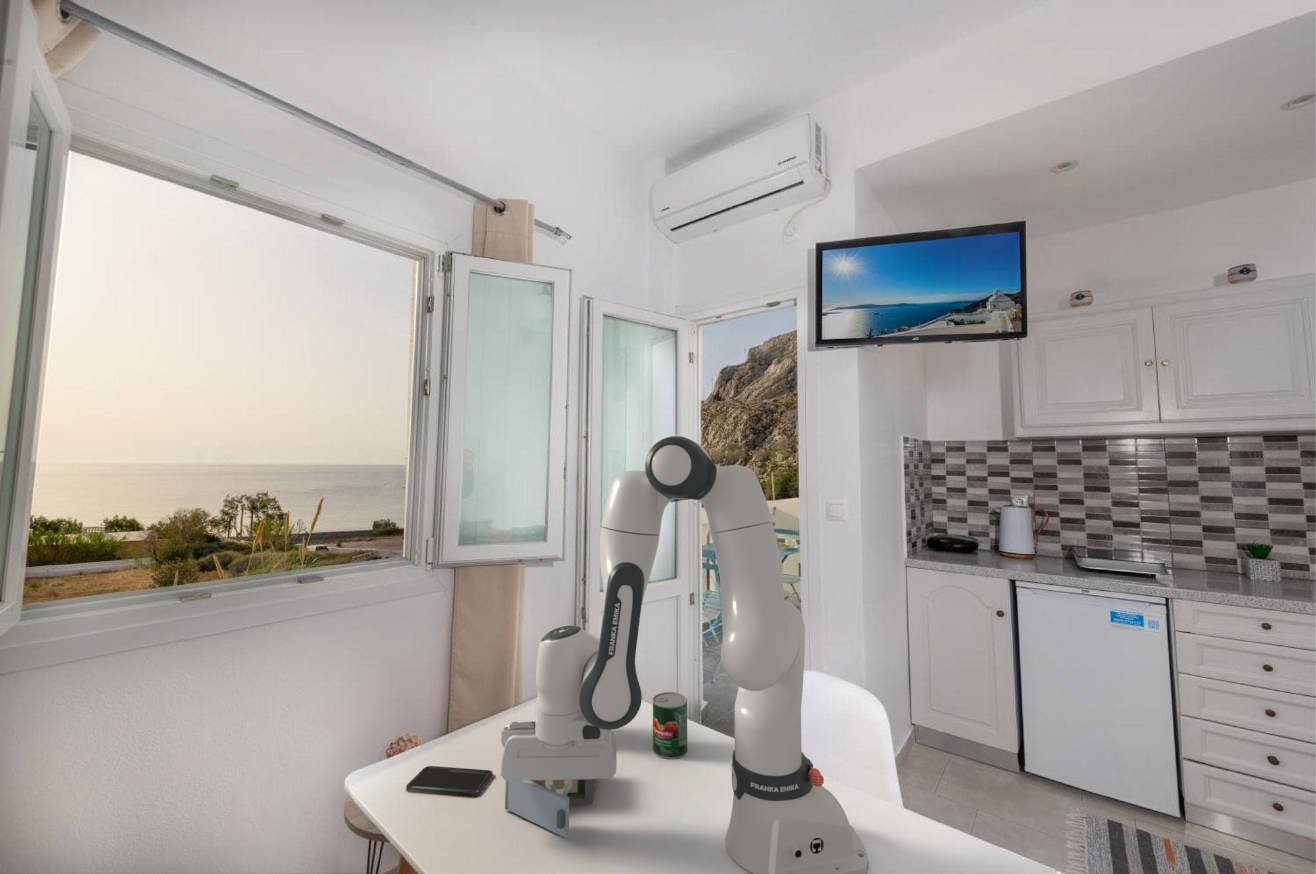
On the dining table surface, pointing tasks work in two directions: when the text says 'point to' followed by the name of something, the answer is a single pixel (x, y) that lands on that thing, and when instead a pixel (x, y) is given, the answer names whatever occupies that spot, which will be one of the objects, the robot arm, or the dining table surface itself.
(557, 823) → the side door
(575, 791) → the box
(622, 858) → the dining table surface
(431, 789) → the phone
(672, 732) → the canned tomato
